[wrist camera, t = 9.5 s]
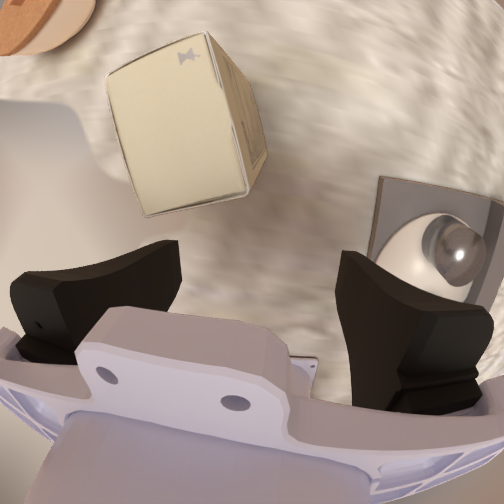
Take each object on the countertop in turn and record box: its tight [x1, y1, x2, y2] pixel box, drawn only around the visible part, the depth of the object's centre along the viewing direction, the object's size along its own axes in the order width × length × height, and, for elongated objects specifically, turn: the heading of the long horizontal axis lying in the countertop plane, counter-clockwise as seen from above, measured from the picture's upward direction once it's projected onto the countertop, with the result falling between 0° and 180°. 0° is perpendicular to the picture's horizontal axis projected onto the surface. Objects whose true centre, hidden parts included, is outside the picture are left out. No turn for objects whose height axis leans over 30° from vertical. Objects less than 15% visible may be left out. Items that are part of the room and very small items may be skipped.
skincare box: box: [105, 31, 268, 218], centre depth 13 cm, size 6×4×12 cm
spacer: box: [422, 215, 486, 287], centre depth 17 cm, size 4×4×4 cm
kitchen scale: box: [367, 176, 504, 313], centre depth 20 cm, size 16×15×3 cm
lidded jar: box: [0, 0, 96, 56], centre depth 10 cm, size 11×11×9 cm
